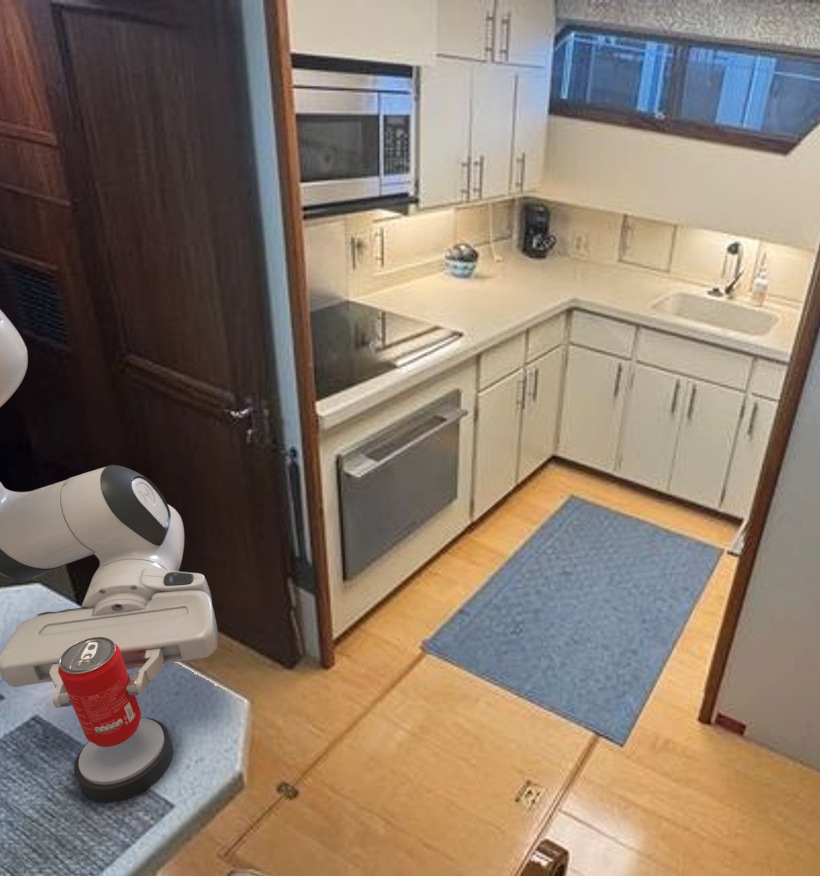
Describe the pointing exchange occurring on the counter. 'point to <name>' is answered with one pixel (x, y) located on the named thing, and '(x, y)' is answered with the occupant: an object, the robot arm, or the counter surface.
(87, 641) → the beverage can
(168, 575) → the robot arm
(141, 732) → the scale
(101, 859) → the counter surface
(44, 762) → the counter surface
